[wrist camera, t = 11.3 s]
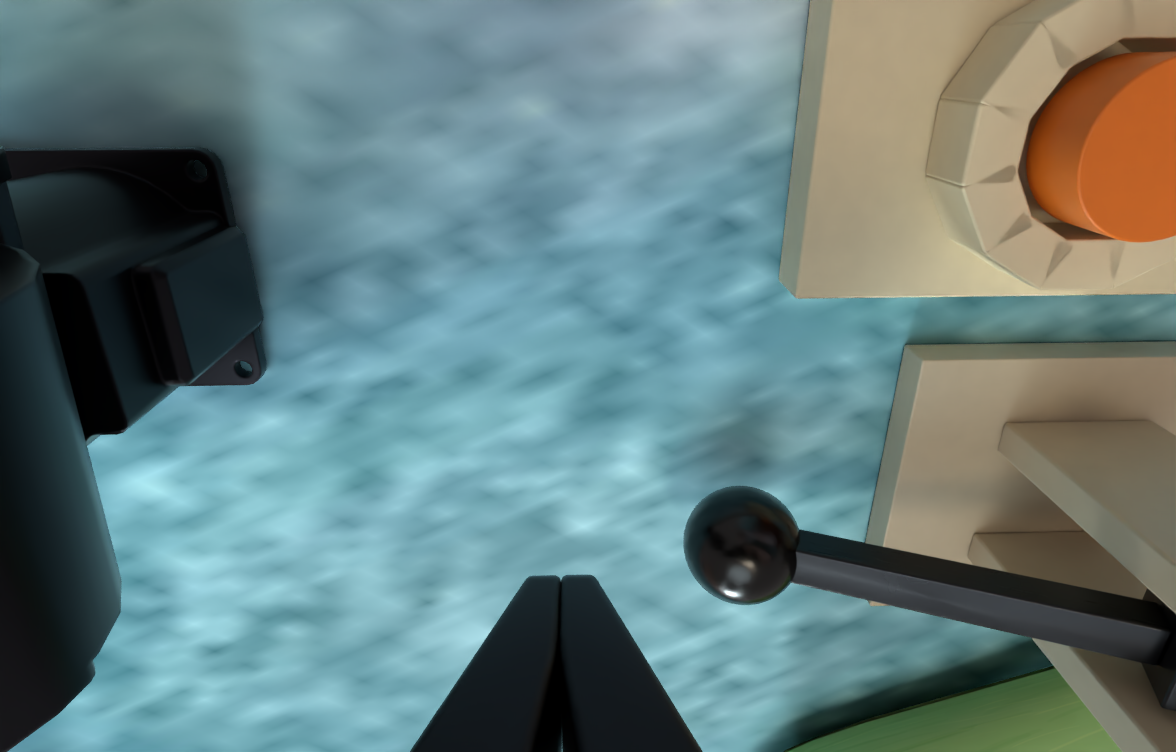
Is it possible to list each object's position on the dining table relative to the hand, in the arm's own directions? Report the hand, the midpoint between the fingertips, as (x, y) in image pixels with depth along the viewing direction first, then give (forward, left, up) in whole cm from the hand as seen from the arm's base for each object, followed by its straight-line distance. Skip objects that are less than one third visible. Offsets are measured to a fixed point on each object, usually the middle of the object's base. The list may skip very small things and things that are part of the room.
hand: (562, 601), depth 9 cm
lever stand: (+15, -6, -12) cm, 20 cm away
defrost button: (+12, +5, -9) cm, 16 cm away
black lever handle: (+10, -6, -8) cm, 14 cm away
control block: (+12, +5, -12) cm, 18 cm away
